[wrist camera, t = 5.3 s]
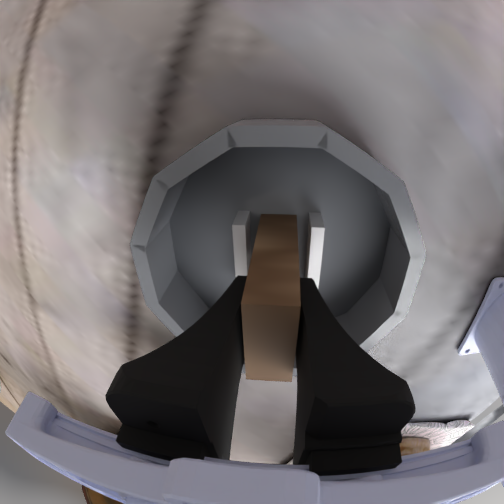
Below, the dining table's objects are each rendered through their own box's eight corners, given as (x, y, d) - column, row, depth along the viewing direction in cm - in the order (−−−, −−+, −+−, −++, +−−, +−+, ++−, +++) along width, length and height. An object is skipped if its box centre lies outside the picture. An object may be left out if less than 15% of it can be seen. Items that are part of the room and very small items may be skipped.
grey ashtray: (410, 130, 12) (447, 143, 9) (371, 330, 19) (381, 374, 16) (150, 127, 14) (110, 139, 10) (183, 322, 20) (166, 363, 17)
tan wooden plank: (296, 214, 15) (300, 306, 9) (293, 279, 17) (291, 381, 11) (261, 213, 15) (241, 303, 9) (261, 278, 17) (246, 379, 11)
